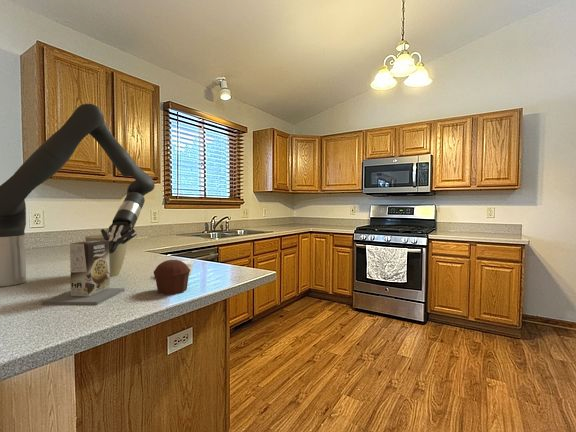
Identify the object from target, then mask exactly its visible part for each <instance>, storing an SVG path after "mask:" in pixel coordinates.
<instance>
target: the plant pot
mask: <svg viewBox="0 0 576 432" xmlns="http://www.w3.org/2000/svg"><path fill="white" fill-rule="evenodd" d="M110 234H111V233H109V236H108V237H109V238H110ZM84 238H85V241H91V240H105V239H104V237H103V235H102V233H101V234H91V235H87V236H84ZM126 238H127V237H126ZM126 238H125V239H126ZM125 239H124V240H125ZM128 243H129V241H127V242H126V243H125V244H122V243H121V244H119V245H118V246H117V248H116V250H115V252H113V253H109V266H110V278H111V277H112V278H113V277H117V276H119V275H120V272H121V270H122V268H123V265H124V261H125V257H126V254H127V249H128Z"/></svg>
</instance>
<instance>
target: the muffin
mask: <svg viewBox="0 0 576 432" xmlns="http://www.w3.org/2000/svg"><path fill="white" fill-rule="evenodd" d="M179 260H180V259H168V260H164V261H162V262H160V263H159V264H158V265H156V268H155V269H154V270H153V275H154V278H155V283H156V288H157V289H156V290H157V293H158V294H159V295H165V296H171V295H178V294H182V293H184V292H186V291H187V290H188V283H189V277H190V275H189V272H190V269H189V268H188V266H187V265H186V264H185V263H184V262H182V261H179Z"/></svg>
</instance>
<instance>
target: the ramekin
mask: <svg viewBox="0 0 576 432" xmlns="http://www.w3.org/2000/svg"><path fill="white" fill-rule="evenodd" d="M178 260H179V261H182V262H184V263H185V264H186V265H187V266H188V268H189V269H190V272H189V276H191V275H192V273H193V267H194V261H193V260H190V259H187V260H186V259H181V260H180V259H178Z"/></svg>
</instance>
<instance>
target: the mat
mask: <svg viewBox="0 0 576 432" xmlns="http://www.w3.org/2000/svg"><path fill="white" fill-rule="evenodd" d="M123 292H125V287H122V288H121V287H120V288H119V287H118V288H117V287H110V289H108V290H105V291H103V292H100V293H97V294H95V295H92V296H89V297H84V296H71V289H70V290H67V291H65V292H63V293H60V294H58V295H55V296H52V297H51V298H47V299H45V300H42V301H41V302H40V303H41V305H52V306H53V305H55V306H58V305H60V306H62V305H63V306H64V305H67V306H68V305H69V306H70V305H72V306H73V305H74V306H75V305H76V306H77V305H80V306H81V305H82V306H87V305H88V306H89V305H90V306H91V305H92V306H95V305H97V306H98V305H99V304H101V303H103V302H105V301H107V300H109V299H111V298H113V297H115V296H116V295H117V296H118V295H119V294H120V293H123Z"/></svg>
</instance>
